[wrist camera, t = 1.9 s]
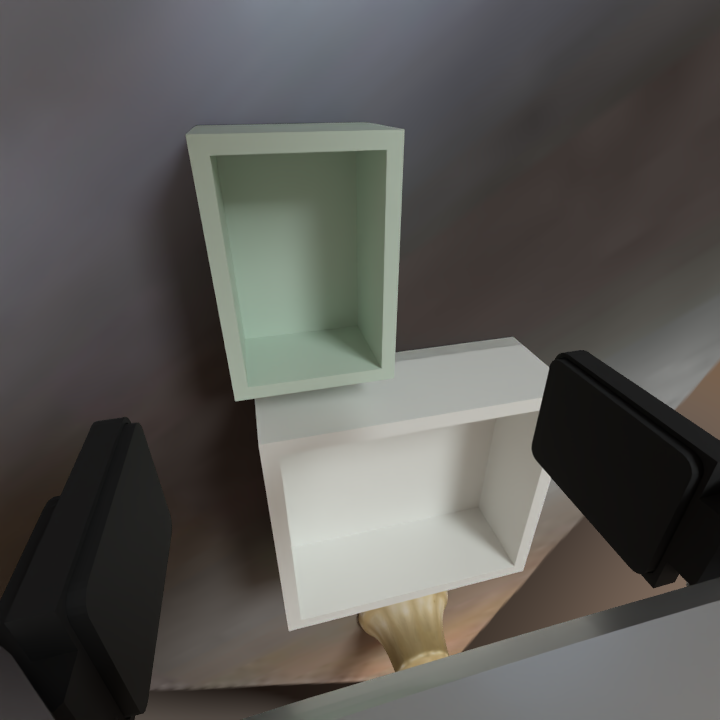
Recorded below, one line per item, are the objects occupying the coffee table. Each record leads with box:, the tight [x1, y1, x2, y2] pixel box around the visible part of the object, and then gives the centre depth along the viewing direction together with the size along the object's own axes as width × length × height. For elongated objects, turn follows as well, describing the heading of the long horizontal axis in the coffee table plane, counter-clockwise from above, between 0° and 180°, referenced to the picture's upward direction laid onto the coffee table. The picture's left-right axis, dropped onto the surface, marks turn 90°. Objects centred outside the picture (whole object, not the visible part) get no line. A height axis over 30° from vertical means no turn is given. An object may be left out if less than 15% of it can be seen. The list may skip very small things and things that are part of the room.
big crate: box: [255, 337, 551, 631], centre depth 27 cm, size 15×16×6 cm
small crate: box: [185, 122, 404, 401], centre depth 19 cm, size 10×7×5 cm
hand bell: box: [358, 591, 449, 672], centre depth 33 cm, size 8×8×16 cm
